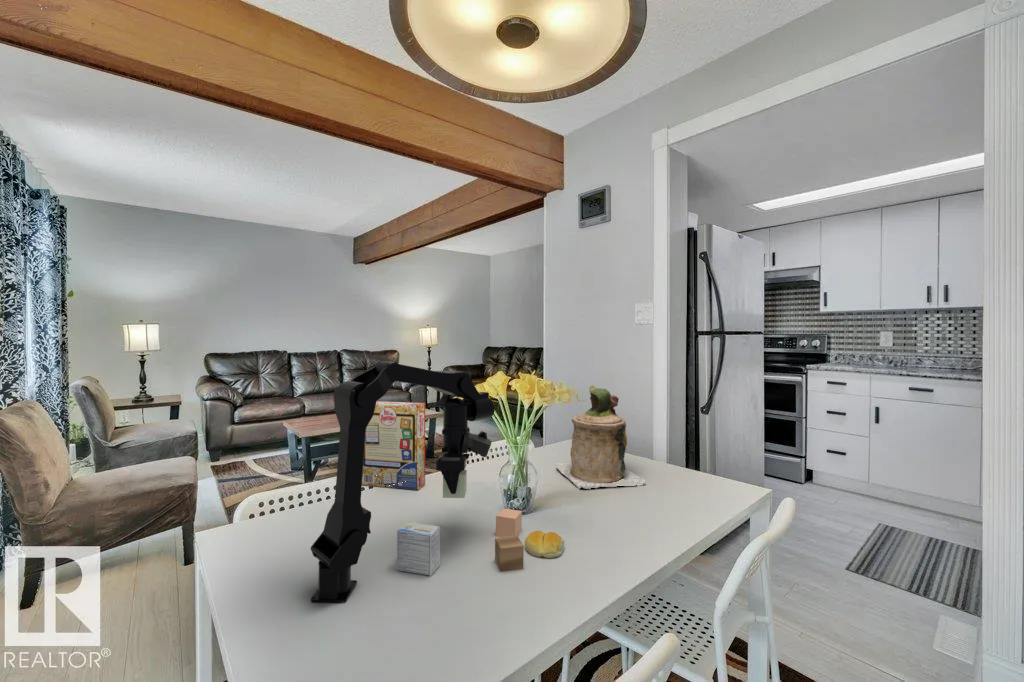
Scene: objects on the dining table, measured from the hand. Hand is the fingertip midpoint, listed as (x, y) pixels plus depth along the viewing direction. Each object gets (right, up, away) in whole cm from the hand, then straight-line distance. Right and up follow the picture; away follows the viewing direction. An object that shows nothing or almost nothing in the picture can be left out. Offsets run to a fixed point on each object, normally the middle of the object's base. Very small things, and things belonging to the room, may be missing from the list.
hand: (454, 489), depth 104 cm
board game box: (-25, -12, +39) cm, 48 cm away
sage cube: (0, -1, 0) cm, 1 cm away
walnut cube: (+13, -13, -10) cm, 21 cm away
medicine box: (-6, -13, -12) cm, 18 cm away
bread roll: (+21, -13, -3) cm, 25 cm away
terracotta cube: (+13, -13, +5) cm, 19 cm away
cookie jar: (+44, -13, +50) cm, 68 cm away
